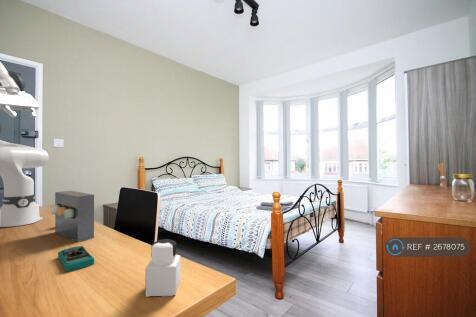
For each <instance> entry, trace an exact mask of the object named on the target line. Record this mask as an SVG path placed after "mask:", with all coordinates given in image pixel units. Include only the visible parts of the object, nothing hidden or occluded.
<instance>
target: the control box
mask: <svg viewBox="0 0 476 317" xmlns="http://www.w3.org/2000/svg"><path fill="white" fill-rule="evenodd" d="M54 202H55V203H54V206H55V205H60V206H61V207H67V209H72V208H73V209H74V211H75V216H74V217H73V218H67V219H66V218H65V217H64V216H58V214H54V216H55V219H54V220H55V221H54V225H55V226H54V232H55V233H56V234H58V235H60V236H62V237H64V238H67V239H69V240H72V241H74V242H76V243H80V242H83V241H87V240H92V239H94V238H95V194H91V193H86V192H80V191H75V190H64V191H55V192H54Z"/></svg>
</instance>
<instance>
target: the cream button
mask: <svg viewBox="0 0 476 317" xmlns="http://www.w3.org/2000/svg"><path fill="white" fill-rule="evenodd" d="M60 207H61V206H60V205H55V204H54V205H52V206H51V207H50V211H51V214H52V215H55V214H57V209H58V208H60Z"/></svg>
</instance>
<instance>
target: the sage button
mask: <svg viewBox="0 0 476 317" xmlns="http://www.w3.org/2000/svg"><path fill="white" fill-rule="evenodd" d="M74 216H75V211H74V209H73V208H72V209H66V210H65V211H64V217H65V218H66V219H67V218H73V217H74Z"/></svg>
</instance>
